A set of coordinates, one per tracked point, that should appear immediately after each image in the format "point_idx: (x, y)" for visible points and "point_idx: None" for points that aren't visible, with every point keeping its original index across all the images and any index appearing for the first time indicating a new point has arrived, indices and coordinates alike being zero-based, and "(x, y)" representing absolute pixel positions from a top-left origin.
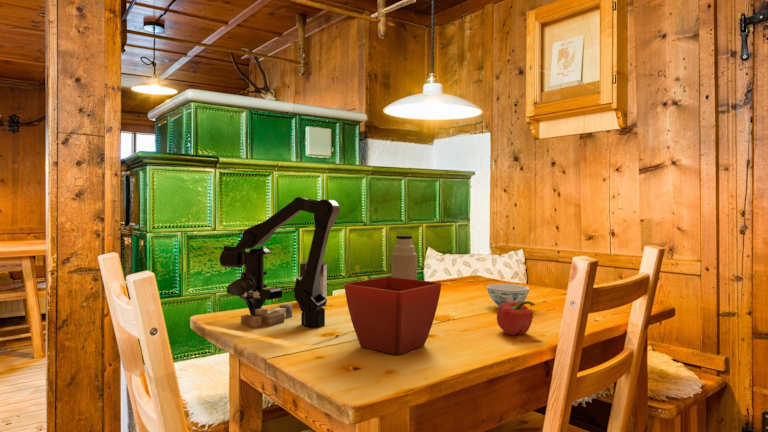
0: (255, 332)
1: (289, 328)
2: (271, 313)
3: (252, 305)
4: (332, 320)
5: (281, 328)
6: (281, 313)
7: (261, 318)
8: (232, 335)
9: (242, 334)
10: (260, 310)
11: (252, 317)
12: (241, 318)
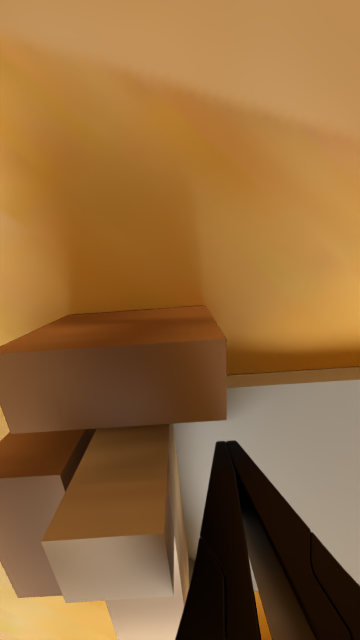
0: (65, 314)
1: None
2: None
3: (242, 610)
4: (8, 624)
5: None
6: (21, 584)
7: (92, 446)
8: (113, 150)
9: (83, 223)
10: (68, 536)
11: (59, 372)
12: (212, 330)
